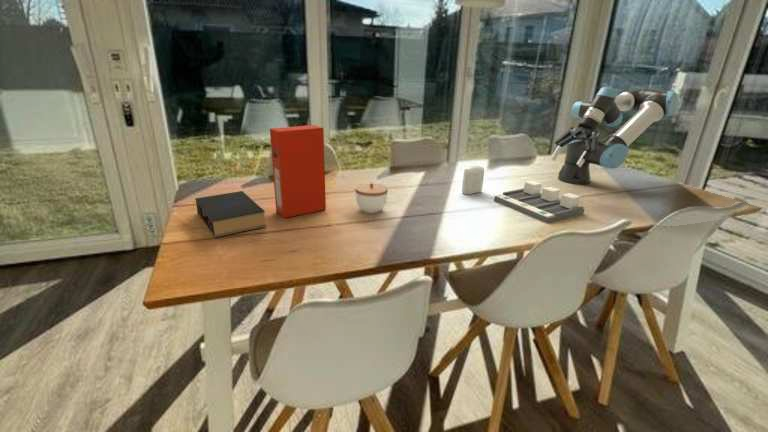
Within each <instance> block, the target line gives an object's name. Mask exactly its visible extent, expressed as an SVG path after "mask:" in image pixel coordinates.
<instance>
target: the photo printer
mask: <svg viewBox="0 0 768 432" xmlns="http://www.w3.org/2000/svg"><path fill="white" fill-rule="evenodd" d="M484 175H485V168H484V167H483V166H481V165H471V166H468V167H467V168H465V169H464V170H463V179H462V185H461V186H462V187H461V192H462V194H463V195H471V194H476V193H481V192H482V191H483V184H484Z"/></svg>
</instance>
